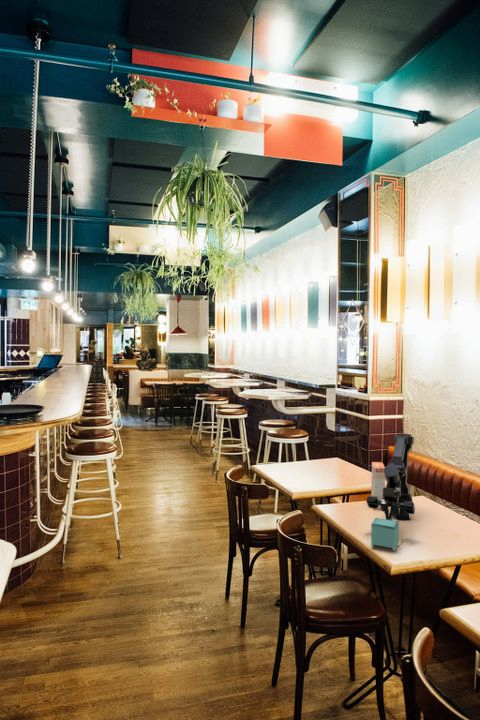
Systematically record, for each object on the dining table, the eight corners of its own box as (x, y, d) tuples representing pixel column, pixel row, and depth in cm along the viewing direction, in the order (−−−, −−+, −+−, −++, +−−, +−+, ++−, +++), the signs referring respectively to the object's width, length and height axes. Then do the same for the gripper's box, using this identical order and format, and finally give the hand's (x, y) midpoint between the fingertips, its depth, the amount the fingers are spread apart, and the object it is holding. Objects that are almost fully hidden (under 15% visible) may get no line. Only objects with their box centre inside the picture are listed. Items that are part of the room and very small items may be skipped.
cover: (375, 539, 199) (375, 517, 199) (398, 543, 195) (398, 521, 195) (371, 546, 192) (371, 523, 192) (394, 550, 188) (395, 527, 188)
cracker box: (385, 510, 239) (385, 467, 239) (372, 509, 240) (373, 467, 240) (382, 502, 253) (383, 461, 253) (370, 501, 254) (371, 461, 254)
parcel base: (378, 534, 207) (378, 532, 207) (403, 538, 202) (403, 536, 202) (373, 542, 198) (373, 540, 198) (399, 547, 193) (399, 544, 193)
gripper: (367, 476, 207) (361, 510, 197) (414, 482, 198) (409, 517, 188) (371, 490, 214) (365, 523, 204) (416, 496, 205) (412, 531, 196)
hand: (387, 523), depth 198 cm, fingers closed
